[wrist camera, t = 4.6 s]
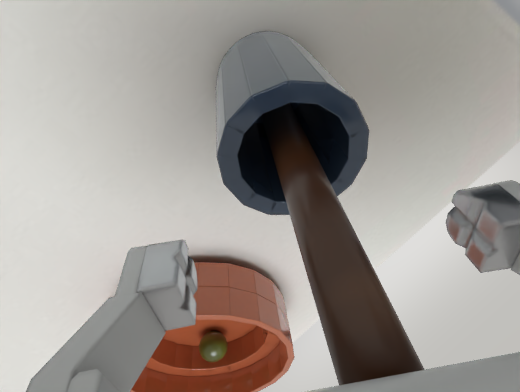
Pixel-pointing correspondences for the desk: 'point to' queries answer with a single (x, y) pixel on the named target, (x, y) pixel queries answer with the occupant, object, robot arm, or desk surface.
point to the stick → (337, 263)
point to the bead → (213, 346)
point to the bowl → (235, 331)
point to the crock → (274, 96)
